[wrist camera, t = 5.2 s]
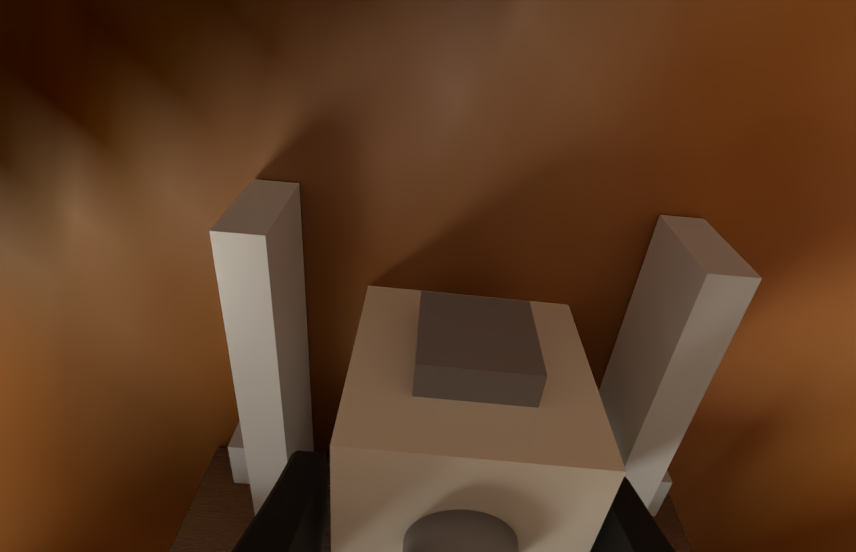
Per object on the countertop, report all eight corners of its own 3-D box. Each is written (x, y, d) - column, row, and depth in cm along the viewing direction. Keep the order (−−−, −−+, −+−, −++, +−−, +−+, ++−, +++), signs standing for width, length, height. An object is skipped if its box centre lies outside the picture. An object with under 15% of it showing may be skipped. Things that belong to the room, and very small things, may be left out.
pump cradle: (620, 479, 16) (645, 558, 14) (262, 450, 16) (234, 526, 14) (731, 221, 12) (794, 280, 9) (226, 176, 11) (175, 227, 9)
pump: (528, 438, 16) (567, 672, 11) (362, 423, 16) (321, 653, 10) (575, 275, 13) (663, 495, 7) (369, 256, 12) (316, 464, 7)
